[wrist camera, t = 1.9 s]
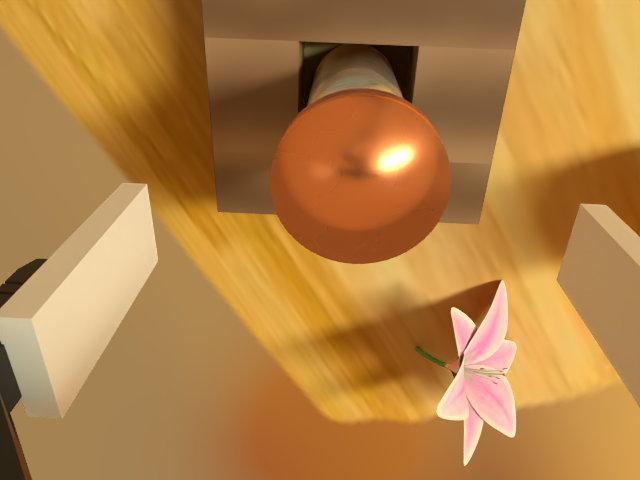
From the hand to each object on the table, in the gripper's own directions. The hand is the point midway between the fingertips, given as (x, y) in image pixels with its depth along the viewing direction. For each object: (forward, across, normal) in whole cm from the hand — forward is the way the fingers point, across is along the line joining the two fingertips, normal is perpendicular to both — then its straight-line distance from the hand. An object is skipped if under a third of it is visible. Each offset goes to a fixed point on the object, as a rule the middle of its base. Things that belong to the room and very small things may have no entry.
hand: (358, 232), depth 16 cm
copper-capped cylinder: (+18, 0, 0) cm, 18 cm away
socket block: (+18, 0, 0) cm, 18 cm away
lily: (+18, +10, -18) cm, 28 cm away
